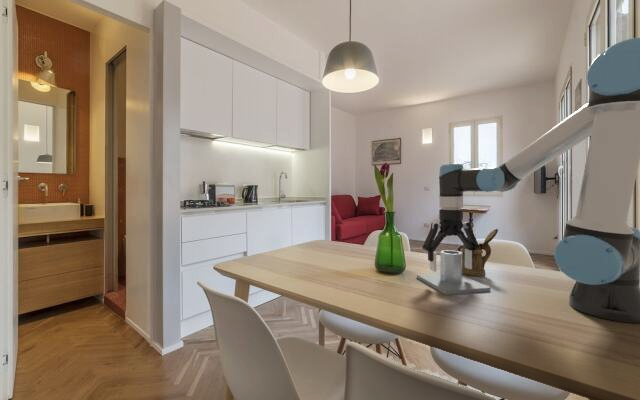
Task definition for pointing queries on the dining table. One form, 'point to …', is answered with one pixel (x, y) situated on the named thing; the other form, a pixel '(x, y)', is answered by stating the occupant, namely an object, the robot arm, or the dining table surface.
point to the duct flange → (453, 285)
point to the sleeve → (451, 266)
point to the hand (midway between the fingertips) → (450, 269)
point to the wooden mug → (478, 257)
